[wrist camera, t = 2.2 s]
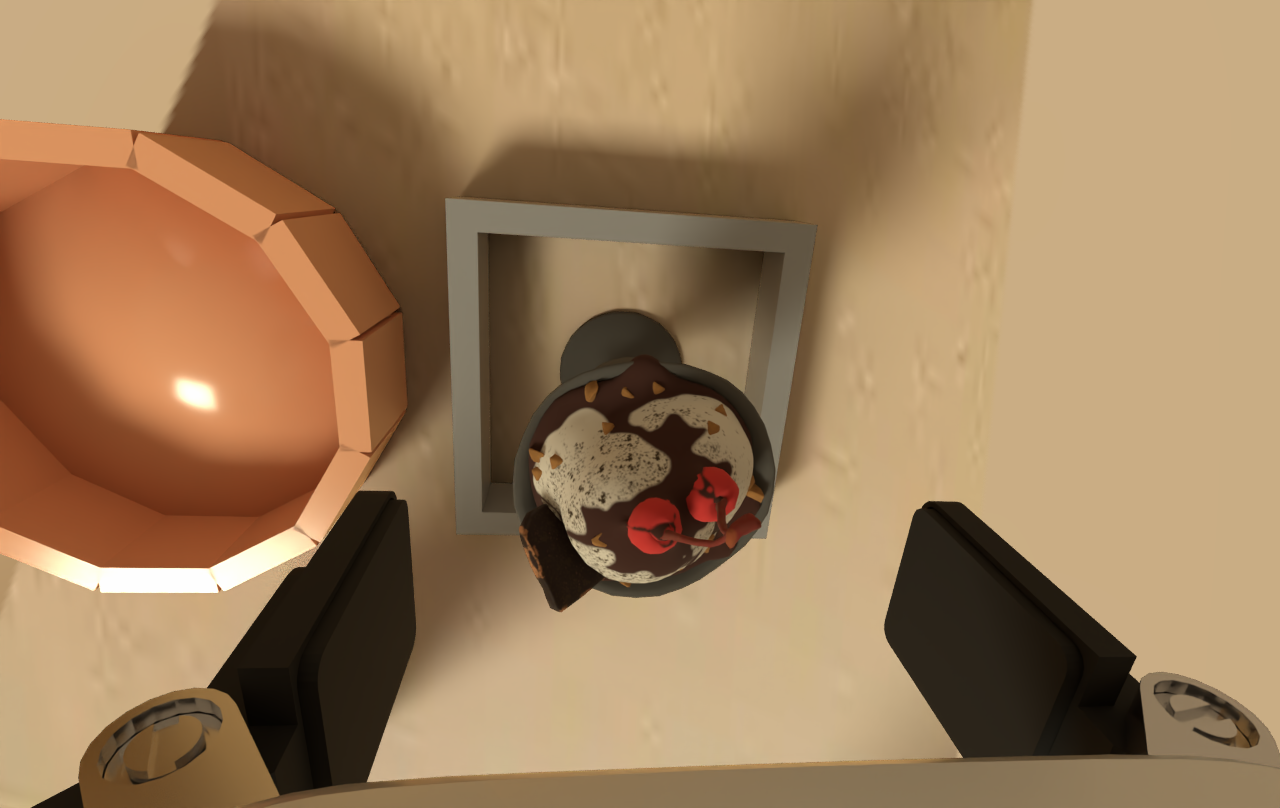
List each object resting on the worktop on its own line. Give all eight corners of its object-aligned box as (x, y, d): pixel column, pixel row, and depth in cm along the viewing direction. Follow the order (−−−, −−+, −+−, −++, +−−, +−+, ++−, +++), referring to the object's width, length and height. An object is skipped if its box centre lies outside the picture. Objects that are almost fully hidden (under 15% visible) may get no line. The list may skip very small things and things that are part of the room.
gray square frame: (750, 508, 28) (766, 538, 25) (467, 503, 26) (456, 534, 24) (793, 220, 23) (817, 225, 21) (459, 196, 22) (445, 197, 20)
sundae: (710, 292, 24) (893, 446, 10) (691, 448, 26) (819, 753, 12) (541, 280, 23) (482, 429, 9) (537, 442, 26) (482, 759, 11)
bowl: (414, 527, 26) (382, 593, 22) (32, 521, 25) (-81, 591, 20) (392, 154, 21) (346, 146, 17) (-89, 115, 20) (-271, 97, 15)
